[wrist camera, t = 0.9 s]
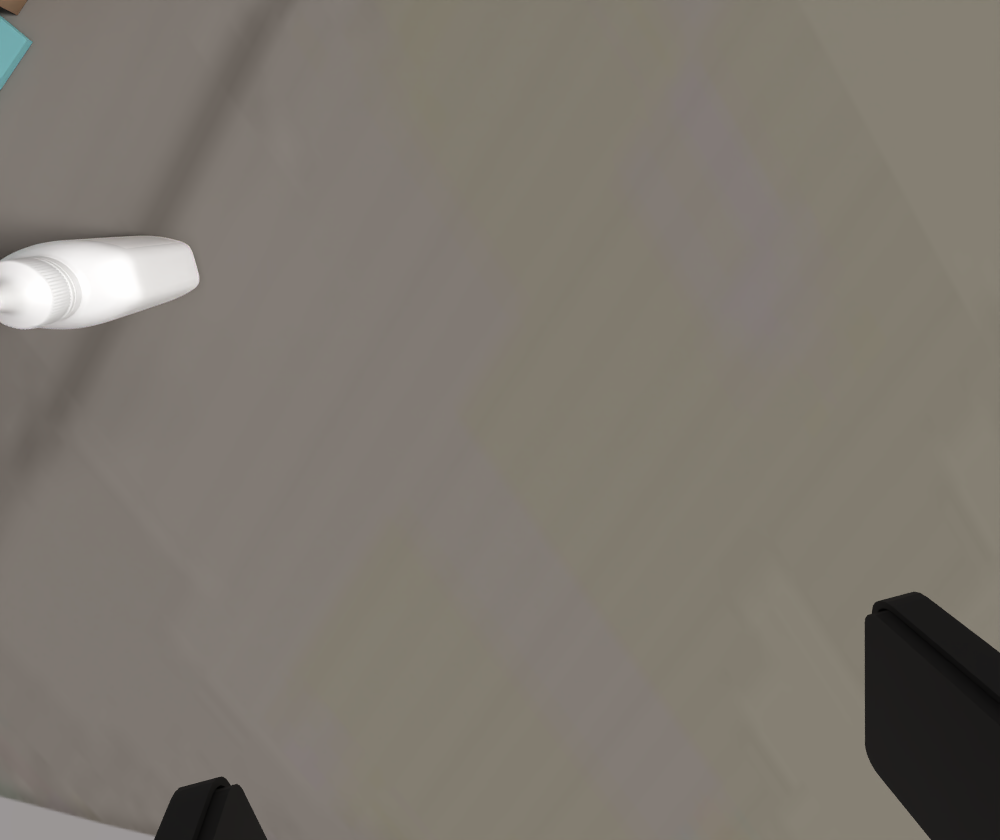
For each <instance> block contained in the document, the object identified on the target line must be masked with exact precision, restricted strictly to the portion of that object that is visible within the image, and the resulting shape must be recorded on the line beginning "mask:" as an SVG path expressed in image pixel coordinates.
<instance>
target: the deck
mask: <svg viewBox="0 0 1000 840" xmlns="http://www.w3.org/2000/svg"><path fill="white" fill-rule="evenodd" d="M26 2H27V0H0V7H2V8H4V9H6V10H8V11H10V12H12V13H14V14H16V15H18V14H19V12H20V11H21V9H22V8H23V6H24V5H25V3H26Z"/></svg>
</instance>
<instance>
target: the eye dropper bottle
mask: <svg viewBox="0 0 1000 840" xmlns="http://www.w3.org/2000/svg"><path fill="white" fill-rule="evenodd" d="M198 284H199V274H198V270H197V266H196V263H195V259H194V256H193V253H192V250H191V249H190V247H189V246H188V245H187V244H185V243H184V242H181V241H178V240H175V239H171V238H165V237H159V236H143V235H141V236H122V237H105V238H89V239H73V240H60V241H51V242H45V243H40V244H36V245H32V246H29V247H26V248H23V249H21V250H18V251H16V252H14V253H12V254H10V255H8V256H6V257H5V258H3V259H2V260H0V322H1V323H2V324H3V325H4V324H5V325H6V326H9V327H11V328H12V327H13V328H15V329H16V328H17V329H22V330H24V329H26V330H28V329H33V328H46V329H75V328H83V327H89V326H94V325H98V324H102V323H105V322H108V321H111V320H115V319H118V318H121V317H124V316H127V315H130V314H133V313H136V312H139V311H142V310H145V309H148V308H151V307H154V306H157V305H160V304H163V303H166V302H169V301H171V300H174V299H176V298H179V297H181V296H183V295H185V294H187V293H188V292H190V291H192V290H193V289H194V288H196V287H197V285H198Z"/></svg>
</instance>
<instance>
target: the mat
mask: <svg viewBox="0 0 1000 840" xmlns="http://www.w3.org/2000/svg"><path fill="white" fill-rule="evenodd" d="M32 43H33V42H32V41H31V40H29V39H28V38H27V37H26V36H25V35H23V34H22V33H21V32H20V31H19V30H17V29H16V28H15V27H14V26H12V25H11V24H10V23H9V22H8V21H6V20H5V19H4V18H3V17H2V16H0V90H1V88H2V87H3V85H4V84H5V83H6V81H7V80H8V78H9V77H10V75H11V74H12V72H13V71H14V69H15V68H16V66H17V65H18V63H19V62H20V60H21V59H22V57H23V56H24V54H25V53H26V51H27V50H28V48H29V47H30V46H31V44H32Z"/></svg>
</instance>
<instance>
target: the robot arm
mask: <svg viewBox="0 0 1000 840" xmlns="http://www.w3.org/2000/svg"><path fill="white" fill-rule="evenodd" d="M865 747H866V752H867V755H868V758H869V760H870V762H871V764H872V766H873V768H874V769H875V771H876V772H877V774H878V775H879V776H880V777H881V779H882V780H883V781H884V782H885V784H886V785H887V786H888V787H889V789H890V790H891V791H892V792H893V793H894V795H895V796H896V797H897V798H898V800H899V801H900V802H901V803H902V805H903V806H904V807H905V808H906V809H907V811H908V812H909V813H910V814H911V816H912V817H913V818H914V819H915V821H916V822H917V823H918V824H919V825H920V827H921V828H922V829H923V830H924V832H925V833H926V834H927V835H928V837H929V838H930V839H931V840H1000V653H999V652H998V651H997V650H996V649H994V648H993V647H992V646H990V645H989V644H988V643H986V642H985V641H984V640H982V639H981V638H980V637H979V636H977V635H976V634H975V633H973V632H972V631H971V630H969V629H968V628H967V627H965V626H964V625H963V624H962V623H960V622H959V621H958V620H956V619H955V618H954V617H952V616H951V615H950V614H948V613H947V612H946V611H945V610H943V609H942V608H941V607H939V606H938V605H937V604H935V603H934V602H933V601H931V600H930V599H929V598H928V597H926V596H924V595H923V594H921V593H918V592H911V593H907V594H903V595H900V596H896V597H892V598H888V599H885V600H881V601H878V602H875V604H874V605H873V609H872V614H870V615H867V617H866V618H865ZM154 840H267V838H266V836H265V834H264V832H263V830H262V828H261V826H260V824H259V822H258V820H257V818H256V816H255V814H254V812H253V810H252V808H251V806H250V804H249V802H248V800H247V798H246V796H245V793H244V791H243V789H242V788H241V787H240V785H238V784H235V785H230V784H229V782H228V781H227V779H226V778H224V777H218V778H214V779H210V780H207V781H203V782H199V783H195V784H192V785H188V786H184V787H180V788H179V789H178V790H177V791H176V792H175V793H174V795H173V797H172V798H171V800H170V803H169V805H168V808H167V810H166V812H165V815H164V817H163V820H162V822H161V824H160V827H159V829H158V832H157V834H156V836H155V839H154Z"/></svg>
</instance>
